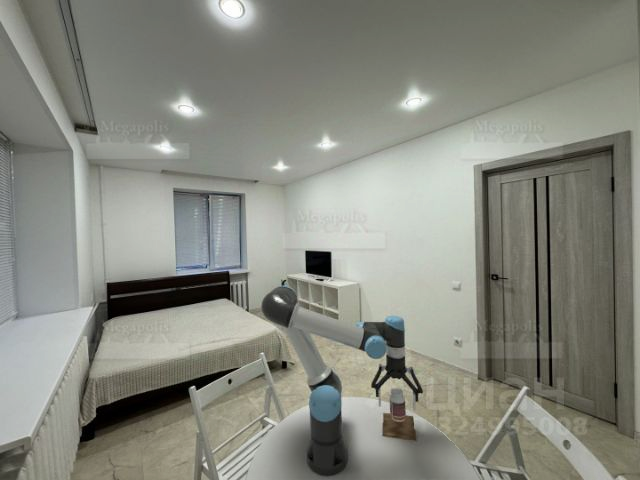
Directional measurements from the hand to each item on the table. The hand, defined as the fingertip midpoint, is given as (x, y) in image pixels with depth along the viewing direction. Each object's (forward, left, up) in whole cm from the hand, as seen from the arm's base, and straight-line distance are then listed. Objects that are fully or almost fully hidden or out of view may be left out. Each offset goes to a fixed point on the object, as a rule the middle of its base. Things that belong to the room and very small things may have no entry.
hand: (396, 406), depth 108 cm
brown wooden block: (0, 0, -10) cm, 10 cm away
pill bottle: (0, 0, -5) cm, 5 cm away
